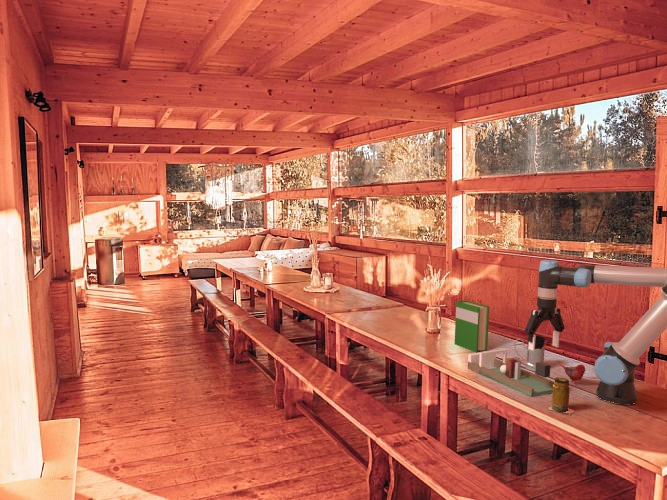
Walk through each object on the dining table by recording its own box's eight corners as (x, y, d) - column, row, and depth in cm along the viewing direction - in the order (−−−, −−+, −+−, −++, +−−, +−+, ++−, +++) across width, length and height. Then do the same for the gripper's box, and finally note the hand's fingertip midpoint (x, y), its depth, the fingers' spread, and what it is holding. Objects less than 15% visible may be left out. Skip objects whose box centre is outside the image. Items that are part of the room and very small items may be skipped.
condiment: (554, 404, 219) (556, 375, 218) (576, 410, 213) (578, 380, 212) (547, 409, 214) (549, 379, 213) (569, 415, 208) (571, 384, 207)
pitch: (558, 391, 233) (559, 368, 232) (531, 396, 227) (532, 373, 226) (492, 364, 269) (493, 344, 268) (467, 368, 262) (468, 348, 261)
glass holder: (545, 371, 260) (547, 340, 259) (514, 369, 263) (516, 338, 262) (542, 366, 269) (544, 336, 267) (512, 363, 272) (513, 333, 270)
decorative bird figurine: (581, 389, 237) (583, 366, 236) (555, 375, 254) (556, 354, 253) (587, 388, 238) (589, 366, 237) (560, 375, 255) (561, 354, 254)
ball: (510, 374, 250) (511, 365, 250) (503, 375, 249) (504, 366, 248) (504, 371, 254) (504, 363, 254) (497, 372, 252) (498, 364, 252)
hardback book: (487, 351, 293) (489, 306, 291) (476, 352, 290) (478, 307, 288) (464, 342, 309) (466, 300, 307) (454, 344, 306) (456, 301, 303)
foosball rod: (551, 389, 231) (553, 364, 230) (540, 391, 228) (542, 366, 227) (515, 374, 249) (516, 351, 248) (505, 376, 246) (506, 353, 245)
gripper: (561, 294, 237) (558, 342, 239) (517, 297, 226) (514, 348, 228) (576, 297, 230) (572, 347, 232) (531, 301, 219) (527, 353, 221)
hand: (543, 348), depth 230 cm, fingers open, 13 cm apart
